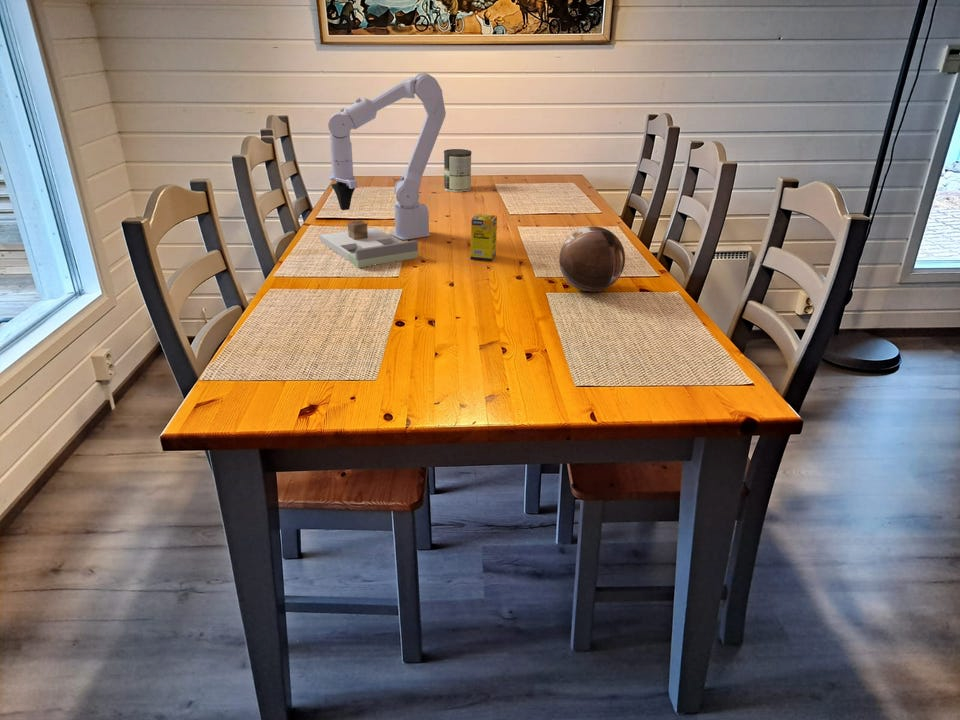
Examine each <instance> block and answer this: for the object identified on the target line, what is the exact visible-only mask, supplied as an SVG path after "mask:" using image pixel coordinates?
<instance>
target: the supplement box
mask: <svg viewBox="0 0 960 720" xmlns="http://www.w3.org/2000/svg"><path fill="white" fill-rule="evenodd" d="M470 221H471V223H470V260H472V259H475V260H474V261H483V260H487V261H486V262H493V259H494V258H495V257H496V253H497V233H498V231H497V230H498V229H497V227H498V215H495V214H493V215H492V214H482V213H477V214H476V213H475V215H474V216H473V217H472V218H471V219H470ZM493 257H494V258H493Z"/></svg>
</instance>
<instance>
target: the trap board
mask: <svg viewBox="0 0 960 720" xmlns="http://www.w3.org/2000/svg"><path fill="white" fill-rule="evenodd" d="M367 232H368V238H364V239H357V240H354V239H352V238H350V237H349V236H348V230H346V231H340V232H332V233H325V234H324V233H323V234H319V241H320V243H321V242H322V243H323V245H324V244H325V245H326V246H325V245H324V246H325V247H327V246H328V247H329V248H328V247H327V248H328V249H330V248H331V249H332V250H331V249H330V250H331V251H333V250H334V251H335V252H334V251H333V252H334V253H336V252H337V253H338V254H337V253H336V254H337V255H339V254H340V255H341V256H342V257H341V256H340V255H339V256H340V257H341V258H343V257H344V258H345V260H346V259H347V260H348V261H347V260H346V261H347V262H349V261H350V262H351V263H350V262H349V263H350V264H352V265H353V264H354V265H353V266H355V267H356V268H357V269H361V267H362V268H366V266H368V267H372V266H371V265H373V266H376V265H375V264H379V265H382V264H381V263H385V264H389V263H388V262H391V263H396V262H395V261H397V262H401V261H407V260H408V261H409V260H413V259H414V260H415V259H418V258H419V249H418V248H419V246H418V244H419V243H418V242H419V241H417V240H416V239H414V240H409V241H407V240H406V241H402V240H400V239H398V238H397V237H395V236H393V235H391V234H389V233H386V232H385V231H383V230H381V229H379V228H378V227H370V228H369V227H367ZM322 243H321V244H322ZM344 258H343V259H344Z"/></svg>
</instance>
